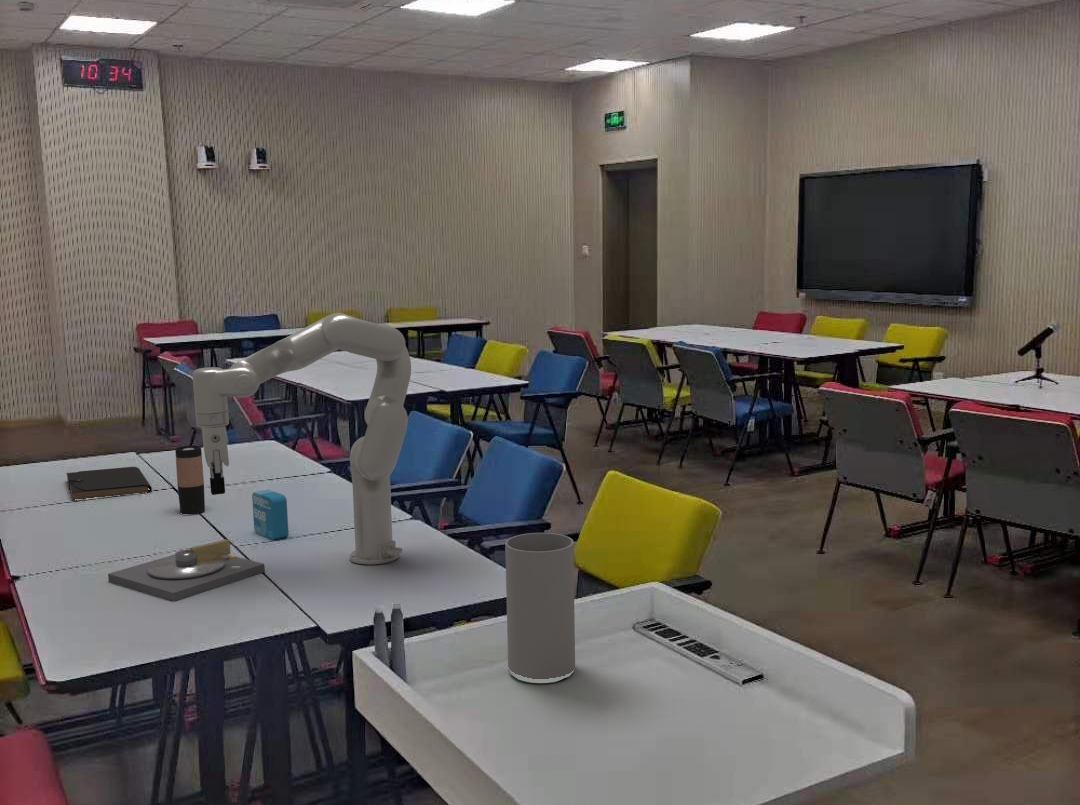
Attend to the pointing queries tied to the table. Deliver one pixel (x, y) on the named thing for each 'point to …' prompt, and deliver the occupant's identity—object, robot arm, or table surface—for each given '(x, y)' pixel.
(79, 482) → the dark notebook
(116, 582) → the dial base
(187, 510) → the travel mug
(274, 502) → the data package
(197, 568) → the capstan dial
